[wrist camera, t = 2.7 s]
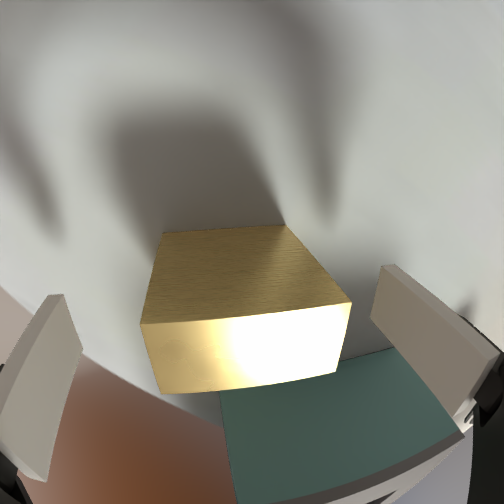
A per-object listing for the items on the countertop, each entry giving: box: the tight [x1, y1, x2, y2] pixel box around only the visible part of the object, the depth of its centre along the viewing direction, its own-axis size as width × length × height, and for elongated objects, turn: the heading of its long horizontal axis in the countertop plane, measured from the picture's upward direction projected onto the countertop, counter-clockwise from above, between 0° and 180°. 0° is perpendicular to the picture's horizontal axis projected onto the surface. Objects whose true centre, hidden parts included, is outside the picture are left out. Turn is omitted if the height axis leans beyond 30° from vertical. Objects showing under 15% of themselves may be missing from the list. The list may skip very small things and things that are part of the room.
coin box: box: [219, 347, 465, 504], centre depth 18 cm, size 16×14×10 cm
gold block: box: [140, 225, 352, 394], centre depth 11 cm, size 6×3×7 cm, turn 90°
